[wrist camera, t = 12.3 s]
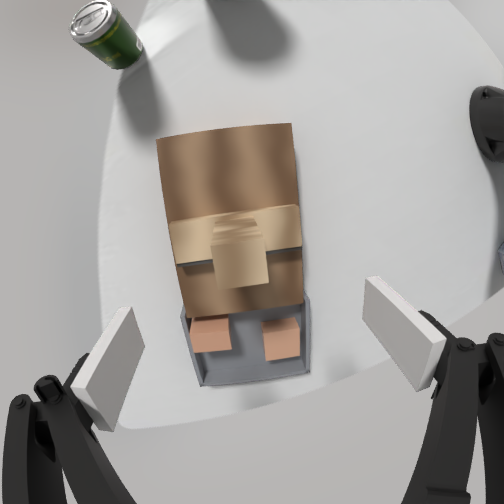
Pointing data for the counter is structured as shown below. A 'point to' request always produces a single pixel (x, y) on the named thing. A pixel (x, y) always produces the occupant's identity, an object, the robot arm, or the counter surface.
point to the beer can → (106, 34)
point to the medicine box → (501, 256)
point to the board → (232, 206)
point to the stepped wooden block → (237, 242)
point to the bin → (251, 348)
